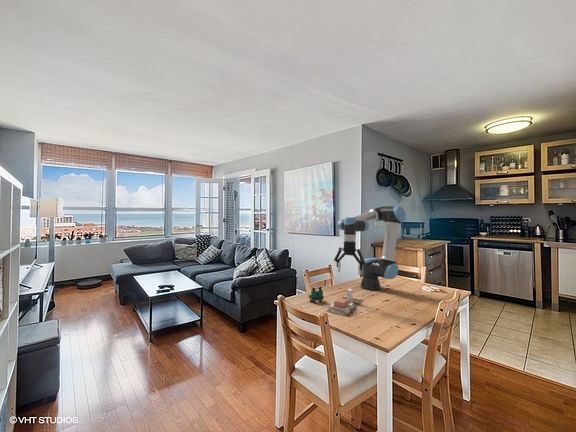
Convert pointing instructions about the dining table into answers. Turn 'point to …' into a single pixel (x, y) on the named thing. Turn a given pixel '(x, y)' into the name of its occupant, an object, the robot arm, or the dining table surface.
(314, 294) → the green toy creature
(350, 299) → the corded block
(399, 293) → the dining table surface
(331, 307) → the lane shelf
